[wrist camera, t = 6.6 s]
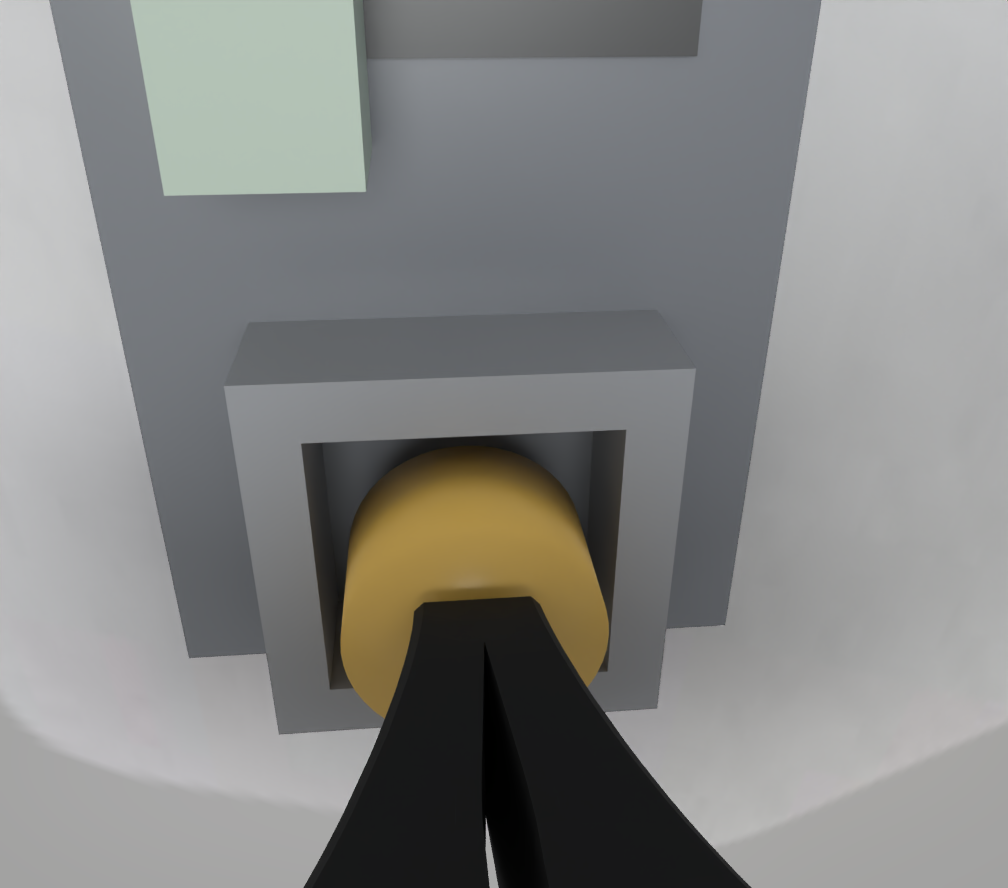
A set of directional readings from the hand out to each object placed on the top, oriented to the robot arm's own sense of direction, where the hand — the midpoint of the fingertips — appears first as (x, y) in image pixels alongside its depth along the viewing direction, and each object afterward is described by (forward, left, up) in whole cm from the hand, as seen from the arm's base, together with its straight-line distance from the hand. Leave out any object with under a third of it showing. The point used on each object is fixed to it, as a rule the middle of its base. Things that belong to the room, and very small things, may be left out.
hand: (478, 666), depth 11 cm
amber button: (0, 0, -2) cm, 2 cm away
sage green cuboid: (-3, -6, -4) cm, 8 cm away
